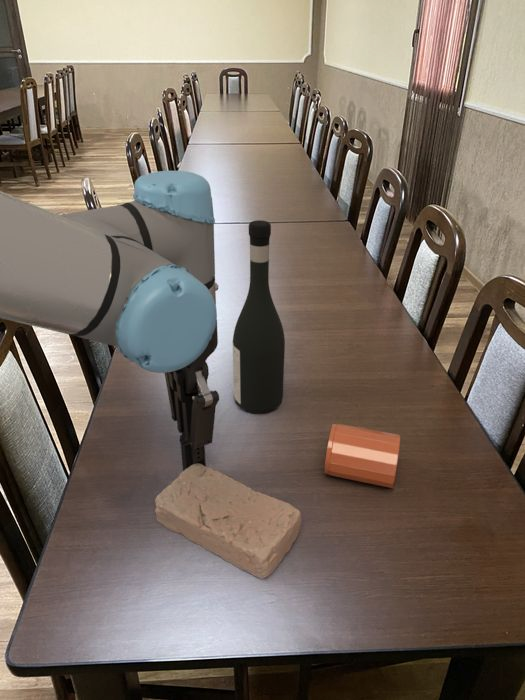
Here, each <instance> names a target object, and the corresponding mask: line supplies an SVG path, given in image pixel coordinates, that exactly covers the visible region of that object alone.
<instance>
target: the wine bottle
mask: <svg viewBox="0 0 525 700" xmlns="http://www.w3.org/2000/svg"><path fill="white" fill-rule="evenodd" d="M271 235H272V225H271V222H269V221H267V220H261V219H259V220H252V221H250V222H249V224H248V236H249V275H250V276H249V287H248V292H247V295H246V298H245V301H244V304H243V306H242V309H241V311H240V314H239V316H238V318H237V321H236V323H235V327H234V330H233V336H232V378H233V379H232V382H233V383H232V384H233V399H234V401H235V404H236V405H237V406H238V407H239V408H240V410H241V409H242V410H244V411H245V412H248V413H252V414H264V413H269V412H272V411H273V410H275V409H277V408H278V407H279V406H280V405H281V403H283V402H282V401H283V397H284V377H285V376H284V375H285V353H286V352H285V350H286V349H285V348H286V338H285V331H284V326H283V323H282V321H281V318H280V316H279V313H278V311H277V308H276V306H275V303H274V300H273V298H272V294H271V290H270V281H269V280H270V279H269V277H270V276H269V274H270V271H269V270H270V269H269V268H270V238H271Z"/></svg>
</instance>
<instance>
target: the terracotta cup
mask: <svg viewBox="0 0 525 700" xmlns="http://www.w3.org/2000/svg"><path fill="white" fill-rule="evenodd" d="M400 445H401V435H400V434H397V433H391V432H386V431H380V430H375V429H369V428H364V427H358V426H353V425H347V424H343V423H335V422H333V423H332V425H331V429H330V432H329V437H328V441H327V445H326V446H327V447H326V452H325V453H326V454H325V461H324V470H323V471H324V475H327V476H330V477H335V478H339V479H345V480H349V481H350V480H351V481H355V482H360V483H365V484H369V485H374V486H379V487H383V488H389V489H393V488H394V484H395V479H396V473H397V468H398V460H399V454H400Z"/></svg>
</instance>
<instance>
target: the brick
mask: <svg viewBox="0 0 525 700" xmlns="http://www.w3.org/2000/svg"><path fill="white" fill-rule="evenodd" d="M179 473H180V474H179V475H178V477H177V478H175V479H174V480H173V481H172V482H171V483H170V484H168V485H167V486H166V487H165V488H163V490H162V491H161V492H160V493H159V494H157V496H156V497H155V500H154V503H155V509H154V512H155V514H156V521H157V522H158V523H159V524H162V525H163V526H164V527H165V528H167V529H168V530H170V531H171V532H174V533H177V534H182V536H183V537H185V538H186V539H188V540H189V541H190V542H193V543H194V544H196V545H199V546H200V547H202V548H204V549H205V550H207V551H209V552H211V553H212V554H214V555H216V556H219V557H220V558H221V559H222V560H223V561H225V562H228V563H229V564H232V566H234V567H237V568H238V569H241V570H242V571H244V572H247V573H249V574H251V575H253V576H254V577H256V578H259V579H265V578H267V577H269V576H270V575H271V574H272V573H273V572H274V571H275V570H276V568H277V567H278V566H279V565H280V564H281V562H282V560H283V558H284V557H285V556H286V554H287V553H288V552H289V551H290V550H291V548H292V546H293V543H294V542H295V541H296V540H297V538H298V536H299V534H300V529H301V526H302V514H301V512H300V510H299V509H298V508H296V507H294V505H292V504H290V503H288V502H286V501H283V500H281V499H278V498H276V497H273V496H270V495H268V494H265V493H263V492H260V491H255V490H254V489H252V487H249V486H247V485H246V484H243V483H242V482H240V481H238V480H236V479H234V478H232V477H230V476H229V475H226V474H224V473H223V472H221V471H219V470H214V468H212V467H209V466H206V467H205V466H204V465H202V464H199V463H196V464H193V465H191V466H190V467H189V468H187V469H185V471H183V470H182V471H181V472H179Z"/></svg>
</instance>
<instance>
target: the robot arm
mask: <svg viewBox="0 0 525 700" xmlns="http://www.w3.org/2000/svg"><path fill="white" fill-rule="evenodd" d="M133 189H134V190H133V196H132V197H133V199H134V200H132V201H128V202H124V203H122V204H117V205H112V206H105V207H99V208H93V209H87V210H81V211H74V212H69V213H64V214H58V213H54V212H52V211H50V210H47V209H46V208H43V207H40V206H38V205H35V204H33V203H30V202H28V201H26V200H23V199H21V198H18V197H16V196H14V195H11V194H9V193H6V192H4V191H2V190H0V319H2V320H6V321H10V322H11V321H12V322H15V323H19V324H23V325H27V326H31V327H36V328H40V329H44V330H48V331H53V332H57V333H61V334H66V335H70V336H74V337H78V338H81V339H85V340H89V341H93V342H96V343H101V344H105V345H108V346H112V347H115V348H116V349H118V351H119V353H120V354H121V355H122V356H123V357H124V358H126V359H128V361H130V362H132V363H134V364H136V365H138V366H139V367H140V368H142V369H144V370H145V371H149V372H152V373H157V374H164V378H165V385H166V389H167V397H168V401H169V407H170V412H171V413H170V414H171V419H172V420H173V422H176V429H177V431H178V433H179V434H181V435H179V440H178V441H179V444H180V452H181V453H180V454H181V463H182V464H181V465H182V472H183V471H185V469H187V468H189V467H190V466H191V465H193V464H196V463H199V464H202V465H204V466H205V467H207V464H206V449H205V448H206V446H208V445H210V444H213V439H214V438H213V437H214V428H215V417H216V408H217V405H218V403H219V401H220V394H219V392H218V391H217V390H215V389H214V390H210V389H209V386H208V379H209V375H210V372H209V365H208V363H207V359H208V358H209V357H210V356H211V355H212V354H213V353H214V352H215V351H216V350H217V348H218V343H219V336H218V313H217V295H216V292H217V291H218V290H219V284H218V283H217V282H216V263H215V262H216V260H215V255H216V254H215V224H216V219H215V215H214V206H213V205H214V204H213V197H212V190H211V186H210V183H209V181H208V180H207V179H206V178H205V177H204V176H202V175H200V174H197V173H195V172H191V171H187V170H186V171H184V170H160V171H153V172H149V173H148V174H143V175H140V176H139V177H138V178H137V179H136V180H135V182H134V187H133Z"/></svg>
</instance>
